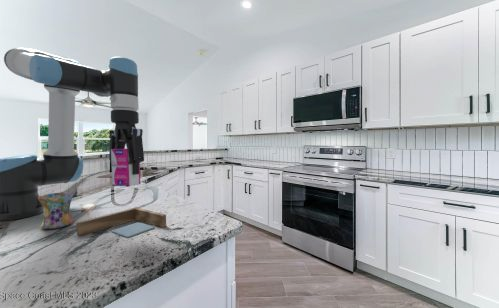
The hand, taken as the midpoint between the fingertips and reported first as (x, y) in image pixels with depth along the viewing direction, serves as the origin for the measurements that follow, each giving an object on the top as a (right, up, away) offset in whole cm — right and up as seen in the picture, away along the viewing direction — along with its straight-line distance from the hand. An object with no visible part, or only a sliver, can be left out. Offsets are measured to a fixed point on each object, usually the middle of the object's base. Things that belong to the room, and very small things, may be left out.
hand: (126, 184), depth 69 cm
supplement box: (0, -1, 0) cm, 1 cm away
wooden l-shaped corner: (-2, -15, +2) cm, 15 cm away
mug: (-28, -15, +7) cm, 32 cm away
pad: (+1, -15, +2) cm, 15 cm away
